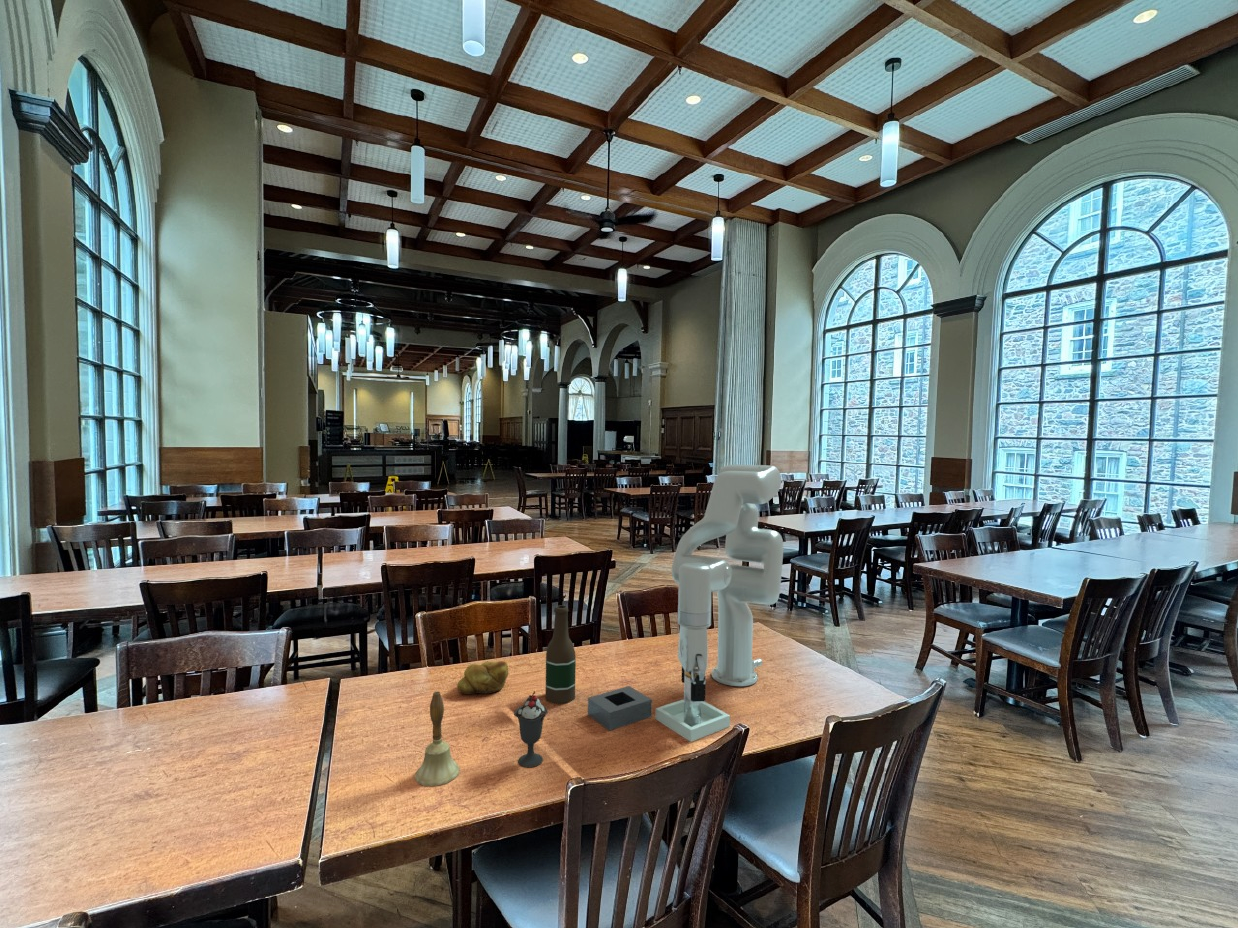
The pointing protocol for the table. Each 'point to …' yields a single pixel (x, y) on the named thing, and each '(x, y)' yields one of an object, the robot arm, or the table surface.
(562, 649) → the beer bottle
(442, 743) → the hand bell
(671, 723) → the tray
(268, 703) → the table surface
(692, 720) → the pin
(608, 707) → the block
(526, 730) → the sundae
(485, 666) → the bread roll
